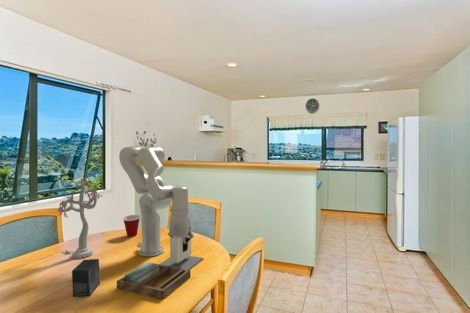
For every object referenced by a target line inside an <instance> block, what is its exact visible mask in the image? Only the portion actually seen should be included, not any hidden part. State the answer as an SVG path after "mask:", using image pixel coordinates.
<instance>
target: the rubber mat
mask: <svg viewBox="0 0 470 313" xmlns="http://www.w3.org/2000/svg"><path fill="white" fill-rule="evenodd" d="M203 260H204V257H202V256H196V255H195V256H194V255H189V256H188V257H186V258H185V259H183V260H182V261H180V262H179V263H173V262H170V257H168V258H167V259H165V260H163V261H161V262H160V263H158V264H159V265H165V266H170V267H176V268H181V269H187V270H190V271H191V269H193V268H194V267H195V266H197V265H198V264H199V263H200V262H202V261H203Z"/></svg>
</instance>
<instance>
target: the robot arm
mask: <svg viewBox="0 0 470 313" xmlns="http://www.w3.org/2000/svg"><path fill="white" fill-rule="evenodd" d="M165 154H166V153H165V151H164V150H163V148H161V147H159V146H149V145H148V146H145V145H144V146H143V145H140V146H138V145H136V146H132V145H131V146H125V147H123V148H121V150H120V151H119V156H118V158H119V164H120V166H121V167H122V169H123V171H125V173H126V175H127V176H128V178H129V180H130V182H131V184H132V186H133V189H134V190H135V192H136V193H137V194H139V195H141V196H140V197H139V200H138V206H139V209H140V210H139V211H140V219H141V222H140V223H141V242H138V243H137V244H136V248H140V249H139V250H138V254H139V256H141V257H146V258H147V257H155V256H160V255H161V254H163V253H164V251H165V249H164V247H162V246H161V244H162V242H161V236H162V235H161V217H160V215H159V214H158V212H157V211H158V210H163V209H166V208H169V207H170V206H171V209H170V212H171V215H170V218H169V226H168V227H169V228H168V233H167V236H169V237H170V238H172V237H181V238H183V241H184V243H183V252H185V251H187V249H188V242H189V240H190V239H191V240H192V239H194V237H195V236H194V234H193V232H192V221H191V217H190V214H189V189H188V187H187V186H184V185H183V186H181V185H178V184H166V183H165V182H164V180H163V178H162V177H161V176H160V175H161V174H162V173H164V171H165V170H164V168H165V167H164V165H163V164H162V162H163V161H164V160H165ZM137 162H140V163H141V165H142V166H143V167H142V166H141V165H139V164H138V163H137ZM145 171H146V172H145ZM146 173H147V174H146ZM188 235H189V236H190V237H189V238H188Z"/></svg>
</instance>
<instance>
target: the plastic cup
mask: <svg viewBox="0 0 470 313" xmlns="http://www.w3.org/2000/svg"><path fill="white" fill-rule="evenodd" d="M121 219H122V221H123V223H124V227H125V231H126V232H125V233H126V236H127V238H133V237H137V235H138V230H139V223H140V219H141V215H139V214H129V215H125V216H123V217H122V218H121Z"/></svg>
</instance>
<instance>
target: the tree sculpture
mask: <svg viewBox="0 0 470 313" xmlns="http://www.w3.org/2000/svg"><path fill="white" fill-rule="evenodd" d="M85 179H86V177H84V178H82V179H81V180H79V181H78V182H77V183H76V184H75V185H76V186H75V187H76V189H78V186H79V184H80V186H81V189H80V191H79V197H78V198H79V199H78V200H74V195H77V194H76V193H72V194H69V195H66V196H64V197H63V199H64V198H65V199H66V200H62V201H61V202H60V203H59V207H58V210H57V211H58V213H59V215H60V216H62V215H63V216H64V218H70V217H69V216H68V215H67V212H69V211H74V212H77V213H79V216H80V219H81V223H82V229H81V230H80V231H81V232H80V234H79V237H78V247H77V248H76V249H75V250H74V251H72V250H69V249H66V250H64V251H65V252H66V253H67V254H70V252H71V253H72V258H74V257H75V258H74V259H83V258H82V257H85V258H88V257H90V255H91V256H92V255H93V252H94V251H93V250H94V249H93V248H91V247H89V246H88V234H89V224H88V221H87V219H86V217H85V209H87V210H92V209H94V208H95V207H96V205H97V201H98V200H99V199H100V197H101V198H103V195H101V194H100V193H98V191H97V190H96V189H97V187H94V188H93V189H92V188H91V186H90V185H88V184H87V181H86V180H85ZM88 179H89V180H90V178H88V177H87V180H88ZM86 187H87V188H86ZM90 191H91V193H90ZM84 196H87V198H88V200H84ZM68 205H69V206H68ZM74 205H79V208H77V207H75V206H74ZM67 206H68V207H67ZM65 252H64V253H65ZM87 256H88V257H87Z"/></svg>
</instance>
